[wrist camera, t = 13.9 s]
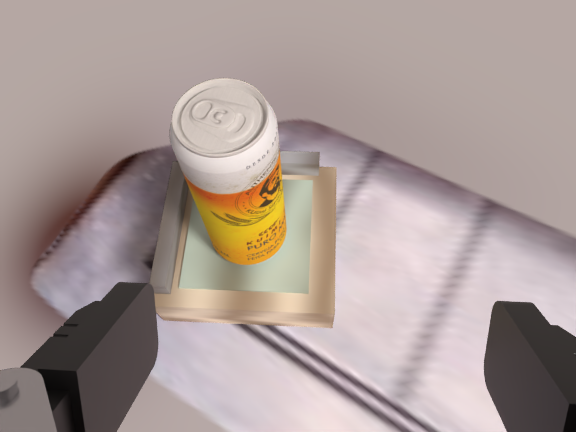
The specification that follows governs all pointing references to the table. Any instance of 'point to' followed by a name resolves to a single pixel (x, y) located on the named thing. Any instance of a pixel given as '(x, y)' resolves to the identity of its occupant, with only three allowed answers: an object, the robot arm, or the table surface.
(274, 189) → the beer can
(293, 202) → the square tray
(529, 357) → the robot arm
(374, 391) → the table surface
